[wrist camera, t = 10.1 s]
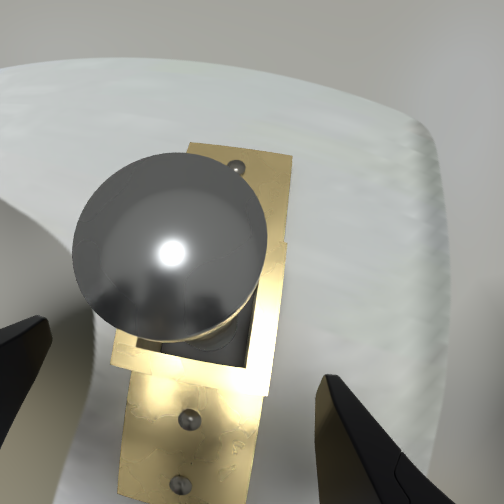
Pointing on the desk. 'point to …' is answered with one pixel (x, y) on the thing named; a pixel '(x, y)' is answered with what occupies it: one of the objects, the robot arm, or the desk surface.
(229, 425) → the brass socket plate
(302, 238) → the desk surface
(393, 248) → the desk surface
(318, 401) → the robot arm
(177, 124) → the desk surface
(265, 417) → the desk surface
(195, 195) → the hinge pin
